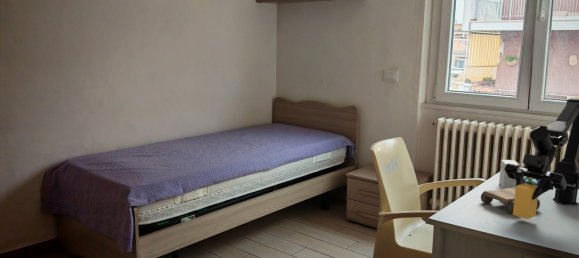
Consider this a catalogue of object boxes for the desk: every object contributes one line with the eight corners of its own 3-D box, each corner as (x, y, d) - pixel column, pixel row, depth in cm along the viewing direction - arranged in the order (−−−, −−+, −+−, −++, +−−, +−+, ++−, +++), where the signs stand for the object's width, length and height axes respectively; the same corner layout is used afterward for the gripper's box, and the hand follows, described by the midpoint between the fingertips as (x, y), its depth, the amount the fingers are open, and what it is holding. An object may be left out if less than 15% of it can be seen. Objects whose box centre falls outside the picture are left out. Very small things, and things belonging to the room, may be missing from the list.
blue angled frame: (527, 174, 219) (545, 162, 212) (536, 186, 217) (554, 174, 210) (515, 182, 212) (533, 170, 205) (525, 194, 210) (543, 182, 203)
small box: (517, 190, 201) (520, 164, 199) (502, 189, 202) (505, 163, 200) (512, 184, 209) (515, 160, 207) (498, 183, 210) (501, 159, 208)
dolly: (508, 198, 189) (509, 186, 188) (539, 210, 177) (540, 196, 176) (480, 202, 184) (481, 189, 183) (510, 215, 171) (511, 201, 170)
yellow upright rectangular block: (520, 211, 169) (523, 183, 167) (535, 215, 165) (538, 186, 163) (512, 215, 165) (515, 185, 163) (528, 219, 161) (531, 189, 160)
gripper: (509, 140, 170) (490, 176, 165) (567, 149, 156) (548, 190, 151) (518, 159, 177) (499, 195, 172) (574, 170, 163) (556, 209, 158)
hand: (524, 196), depth 163 cm, fingers closed on yellow upright rectangular block, 5 cm apart
